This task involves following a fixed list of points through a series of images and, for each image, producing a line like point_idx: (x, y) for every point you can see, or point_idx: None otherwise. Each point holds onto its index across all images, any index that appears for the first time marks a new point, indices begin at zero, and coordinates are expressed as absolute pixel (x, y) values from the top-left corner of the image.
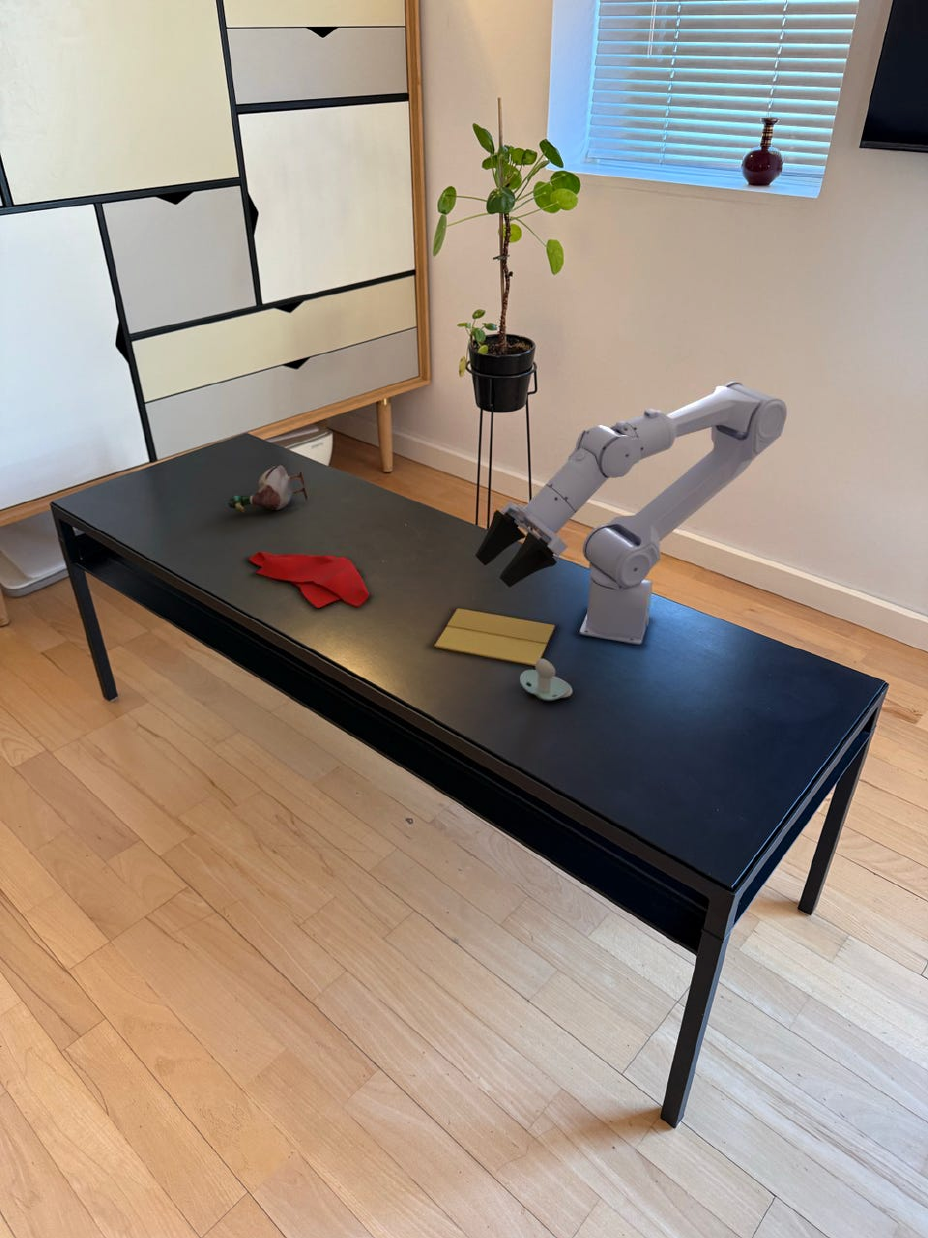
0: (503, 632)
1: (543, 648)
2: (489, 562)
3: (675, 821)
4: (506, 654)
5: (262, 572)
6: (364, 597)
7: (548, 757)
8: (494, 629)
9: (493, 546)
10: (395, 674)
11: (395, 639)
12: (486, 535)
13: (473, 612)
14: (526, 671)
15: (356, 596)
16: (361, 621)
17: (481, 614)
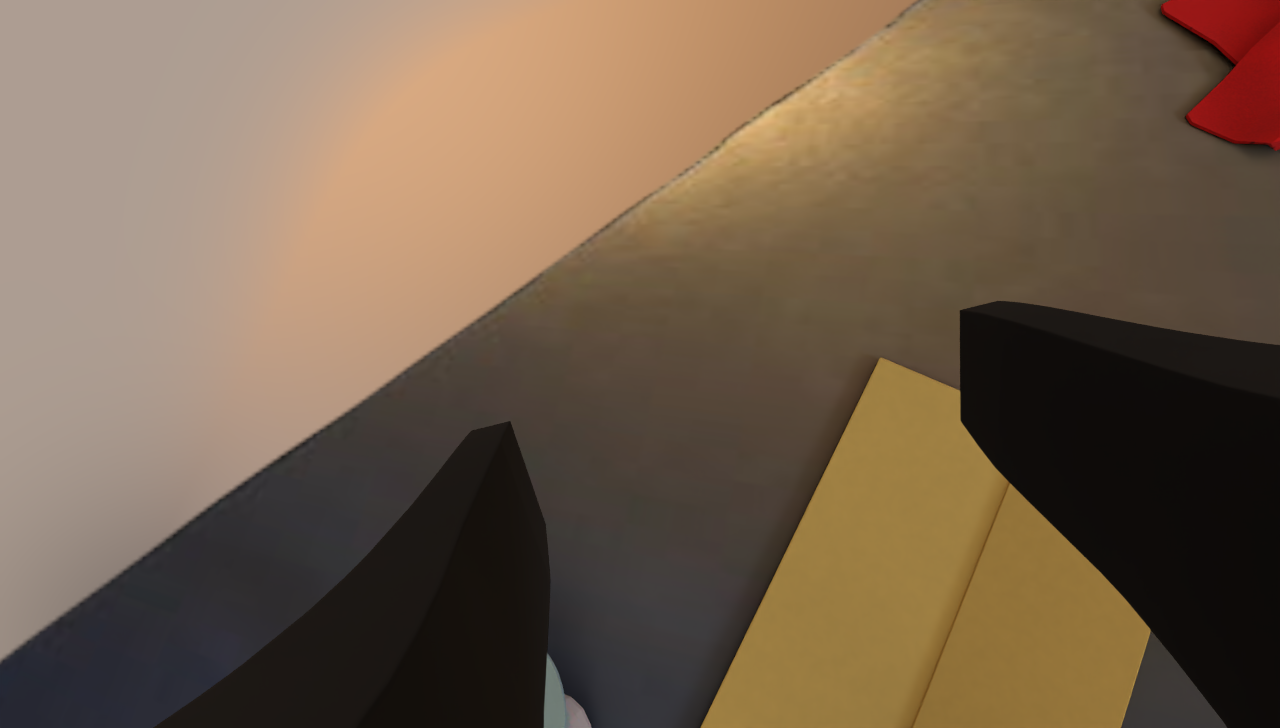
0: (963, 667)
1: None
2: (987, 454)
3: None
4: (782, 638)
5: None
6: (1255, 133)
7: (172, 638)
8: (992, 627)
9: (1091, 452)
10: (723, 227)
11: (943, 235)
12: (1221, 339)
13: None
14: (554, 672)
15: (1262, 109)
16: (1074, 134)
17: None
